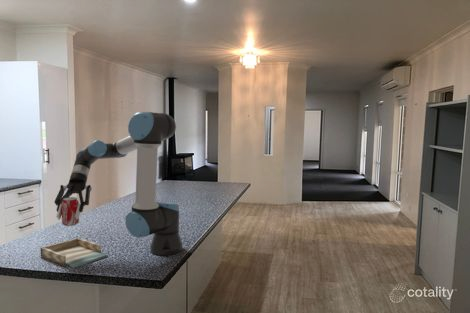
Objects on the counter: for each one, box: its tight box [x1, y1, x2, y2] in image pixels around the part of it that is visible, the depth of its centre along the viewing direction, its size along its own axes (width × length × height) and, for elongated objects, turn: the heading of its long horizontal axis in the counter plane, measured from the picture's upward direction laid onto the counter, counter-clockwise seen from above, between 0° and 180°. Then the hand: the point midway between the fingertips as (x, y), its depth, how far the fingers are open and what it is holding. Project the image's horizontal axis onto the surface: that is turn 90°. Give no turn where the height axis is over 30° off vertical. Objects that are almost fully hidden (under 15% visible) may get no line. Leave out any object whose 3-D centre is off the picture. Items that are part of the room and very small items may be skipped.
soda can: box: [61, 196, 80, 227], centre depth 156 cm, size 7×7×12 cm
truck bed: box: [40, 237, 108, 269], centre depth 155 cm, size 24×18×4 cm
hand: (67, 217), depth 152 cm, fingers closed on soda can, 7 cm apart
